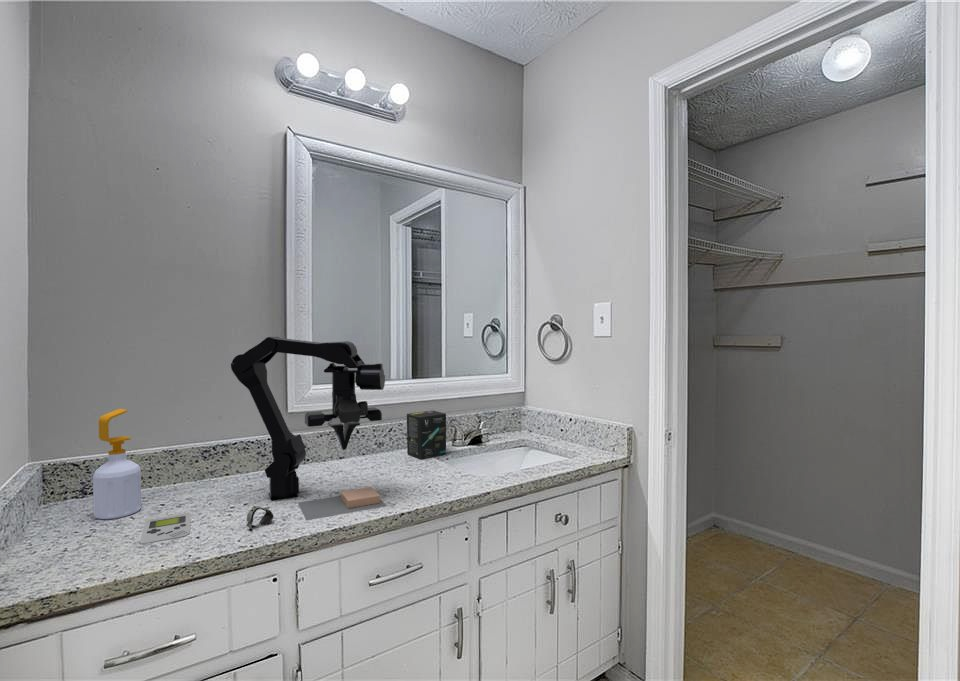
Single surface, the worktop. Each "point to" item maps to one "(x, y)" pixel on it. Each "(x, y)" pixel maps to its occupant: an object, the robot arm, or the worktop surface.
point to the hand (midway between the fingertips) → (344, 449)
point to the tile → (360, 497)
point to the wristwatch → (265, 519)
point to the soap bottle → (116, 477)
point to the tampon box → (426, 434)
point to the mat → (330, 507)
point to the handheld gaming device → (166, 528)
